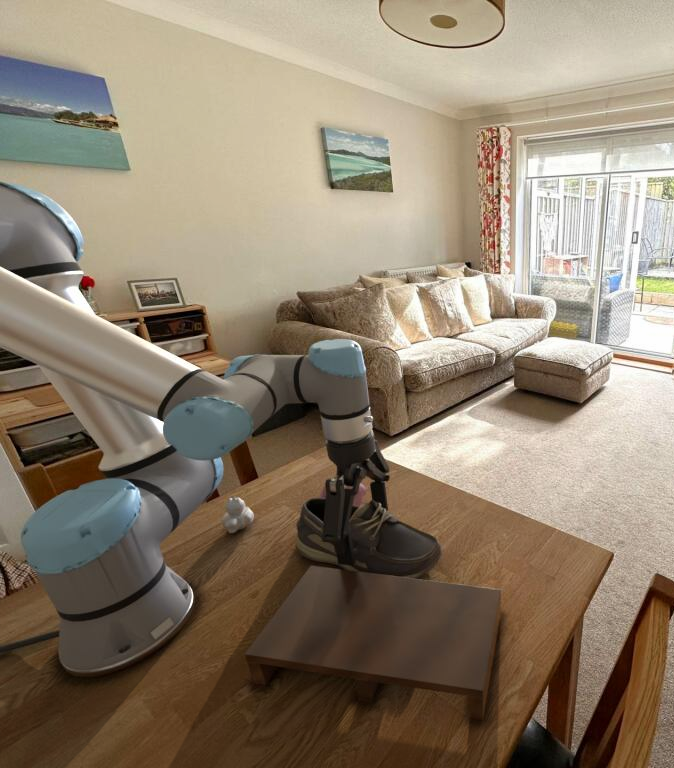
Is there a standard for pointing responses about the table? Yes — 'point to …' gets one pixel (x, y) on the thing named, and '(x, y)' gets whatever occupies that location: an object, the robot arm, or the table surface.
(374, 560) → the boat shoe
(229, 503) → the white lobed figurine
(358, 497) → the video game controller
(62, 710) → the table surface
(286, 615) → the small wooden pallet
